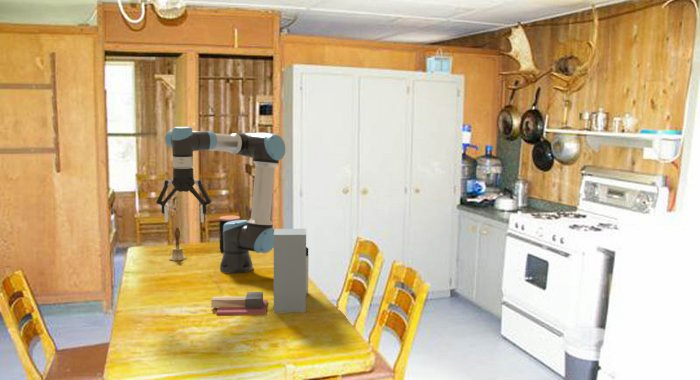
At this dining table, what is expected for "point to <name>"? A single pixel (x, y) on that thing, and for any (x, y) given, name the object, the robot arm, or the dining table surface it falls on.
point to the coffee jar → (222, 221)
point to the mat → (241, 310)
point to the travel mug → (306, 271)
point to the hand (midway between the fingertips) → (184, 221)
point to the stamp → (240, 301)
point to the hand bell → (177, 248)
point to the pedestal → (289, 270)
